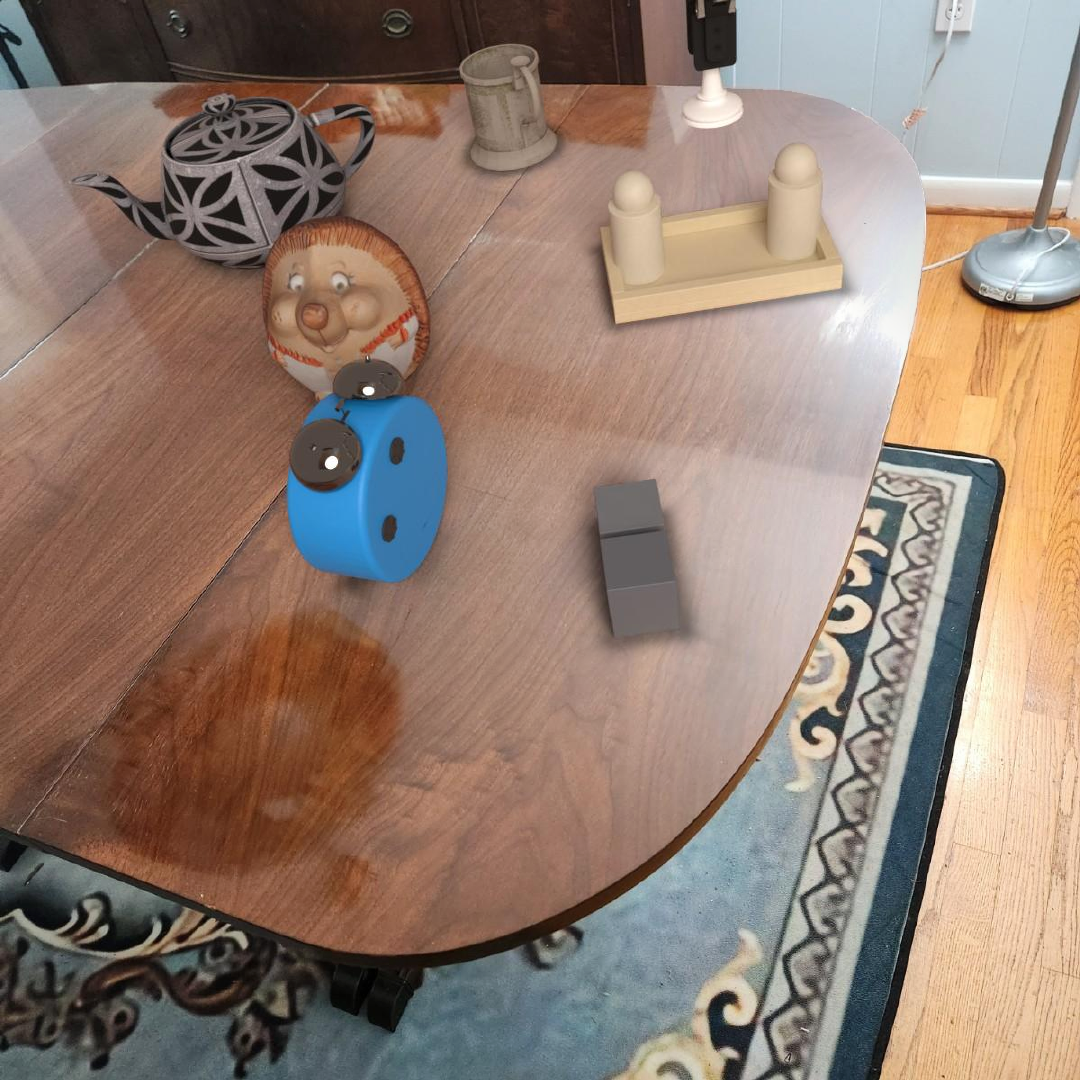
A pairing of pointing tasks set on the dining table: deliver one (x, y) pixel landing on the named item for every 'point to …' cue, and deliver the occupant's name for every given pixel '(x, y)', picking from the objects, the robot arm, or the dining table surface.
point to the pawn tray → (719, 245)
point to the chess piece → (712, 104)
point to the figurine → (341, 301)
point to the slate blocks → (636, 559)
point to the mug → (506, 107)
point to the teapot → (242, 177)
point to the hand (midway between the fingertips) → (711, 56)
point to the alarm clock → (367, 477)
